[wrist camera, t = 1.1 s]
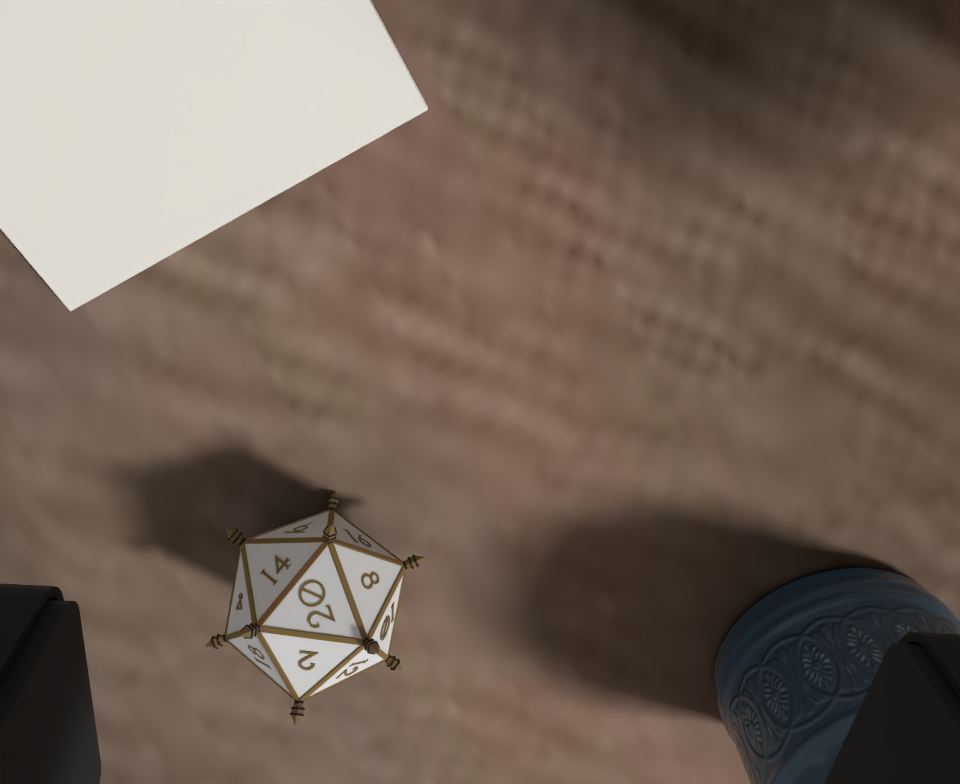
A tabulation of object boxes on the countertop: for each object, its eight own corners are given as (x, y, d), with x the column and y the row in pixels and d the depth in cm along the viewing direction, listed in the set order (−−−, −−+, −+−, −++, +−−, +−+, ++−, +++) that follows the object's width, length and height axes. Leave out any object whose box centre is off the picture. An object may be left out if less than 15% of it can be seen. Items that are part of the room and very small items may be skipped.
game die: (293, 487, 43) (144, 520, 33) (444, 478, 39) (325, 513, 30) (309, 663, 43) (164, 745, 33) (462, 670, 39) (348, 763, 30)
